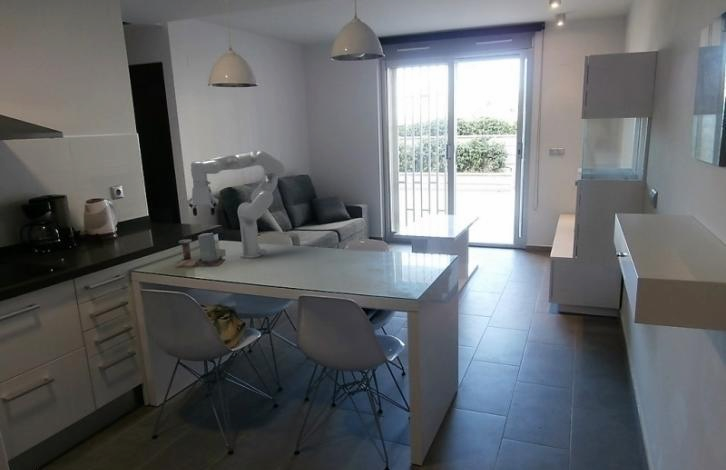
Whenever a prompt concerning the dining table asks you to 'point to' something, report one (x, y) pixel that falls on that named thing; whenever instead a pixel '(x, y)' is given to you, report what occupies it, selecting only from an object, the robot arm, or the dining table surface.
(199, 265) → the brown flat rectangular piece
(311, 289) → the dining table surface
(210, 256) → the skincare box
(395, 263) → the dining table surface
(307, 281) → the dining table surface
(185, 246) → the bobbin
